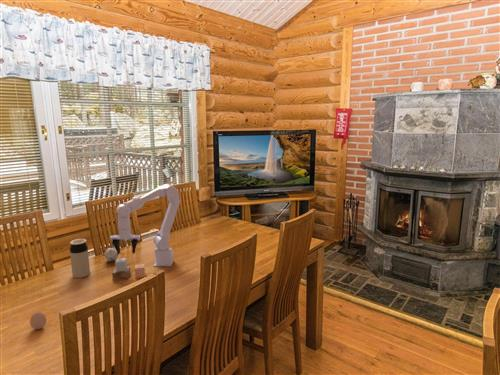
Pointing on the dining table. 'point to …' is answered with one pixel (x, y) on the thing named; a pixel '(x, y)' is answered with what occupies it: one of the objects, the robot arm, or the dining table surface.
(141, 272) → the terracotta block
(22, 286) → the dining table surface
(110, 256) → the pale grey round lump
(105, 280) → the dining table surface
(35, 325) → the egg
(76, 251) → the travel mug
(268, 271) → the dining table surface
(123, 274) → the walnut base
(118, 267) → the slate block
